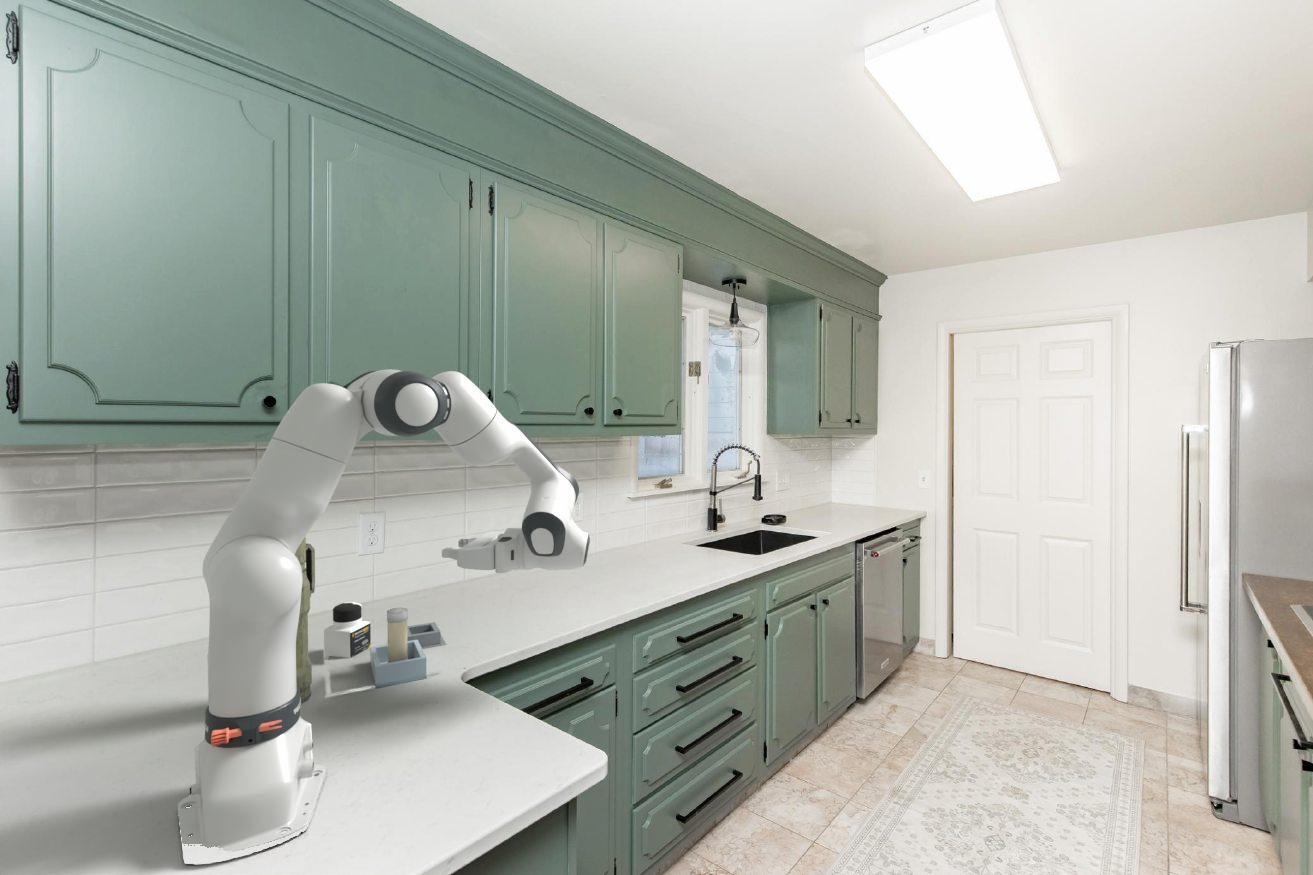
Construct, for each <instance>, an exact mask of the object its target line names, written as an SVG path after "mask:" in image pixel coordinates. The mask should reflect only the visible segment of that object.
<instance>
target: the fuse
mask: <svg viewBox="0 0 1313 875" xmlns="http://www.w3.org/2000/svg"><path fill="white" fill-rule="evenodd" d="M408 610H409V609H408V608H406V607H395V608H390V609H388V610H386V622H387V645H388V661H387V662H386V663H391V662H397V661H402V660H408V659H409V658H408V636H407V626H408V619H409V612H408Z"/></svg>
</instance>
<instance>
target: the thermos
mask: <svg viewBox="0 0 1313 875" xmlns="http://www.w3.org/2000/svg"><path fill="white" fill-rule="evenodd" d="M306 540H307V539H306V537H305V538H304V539H303V541H302V542H301V544H300V545H299V547H298V549H297V551H296V553H295V556H296V557H297V559H298V560H299V563H300V565H301V568H302V577H303V582H302V590H301V604H300V614H299V622H298V628H297V636H296V683H297V688H298V689H299V691H300V697H301V705H302V704H303V703H305V702H308V701H309V699H310V698H311V697H312V691H311V689H312V688H311V686H312V683H313V682H312V680H313V679H312V678H313V677H312V676H313V673H312V672H313V671H312V670H313V669H312V668H313V666H312V660H311V659H310V656H309V621H308V620H309V618H308V615H309V613H310V610H311V598H312V594H314V593H315V589H316V564H315V563H316V562H315V560H316V559H315V557H316V556H315V554H316V553H315V552H316V551H315V548H314V547H313V545H312V544H311V543H307V541H306Z"/></svg>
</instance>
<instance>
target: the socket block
mask: <svg viewBox="0 0 1313 875" xmlns="http://www.w3.org/2000/svg"><path fill="white" fill-rule="evenodd" d="M407 636H408V641H412V640H418V641H419V643H420V645H421V648H422V650H425V649H426V650H427V649H430V648H431V649H432V648H436V647H442V646H446V645H447V643H446V641H445V640H444V638H443V636H442V634H441V630H440V629H439V627H438V625H437V622H435V621H433V622H427V623H421V624H413V625H407Z"/></svg>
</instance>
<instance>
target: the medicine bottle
mask: <svg viewBox="0 0 1313 875" xmlns="http://www.w3.org/2000/svg"><path fill="white" fill-rule="evenodd" d="M362 608H363V605H362V604H361V603H360V602H359V603H358V602H355V601H351V602H350V601H348V602H343V603H339V604H337V605H335V606H334V607H333V609H332V625H330V626H328V627H326V628H324V629H323V631H324V632H323V637H324V638H323V640H324V641H323V645H324V646H323V647H324V650H323V651H324V653H323V654H324V655H323V656H324V657H323V658H324V660H330V657H338V658H346V659H352V658H355V657H356V656H357V655H359V654H361V653H363V652H364V651H366V650H368V649H370V647H372V645H371V644H372V642H371V640H372V639H371V621H365V620H363V616H362V615H363V611H362V610H363V609H362Z"/></svg>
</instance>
